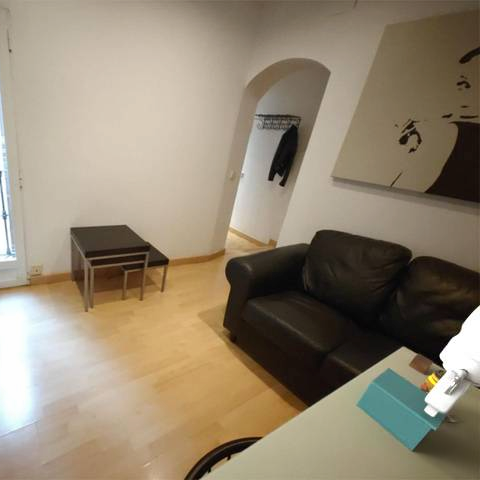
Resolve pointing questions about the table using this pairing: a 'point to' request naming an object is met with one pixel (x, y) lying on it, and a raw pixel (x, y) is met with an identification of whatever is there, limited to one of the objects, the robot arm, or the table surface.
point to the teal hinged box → (393, 417)
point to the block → (420, 363)
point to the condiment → (430, 384)
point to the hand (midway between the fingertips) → (435, 405)
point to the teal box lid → (407, 396)
